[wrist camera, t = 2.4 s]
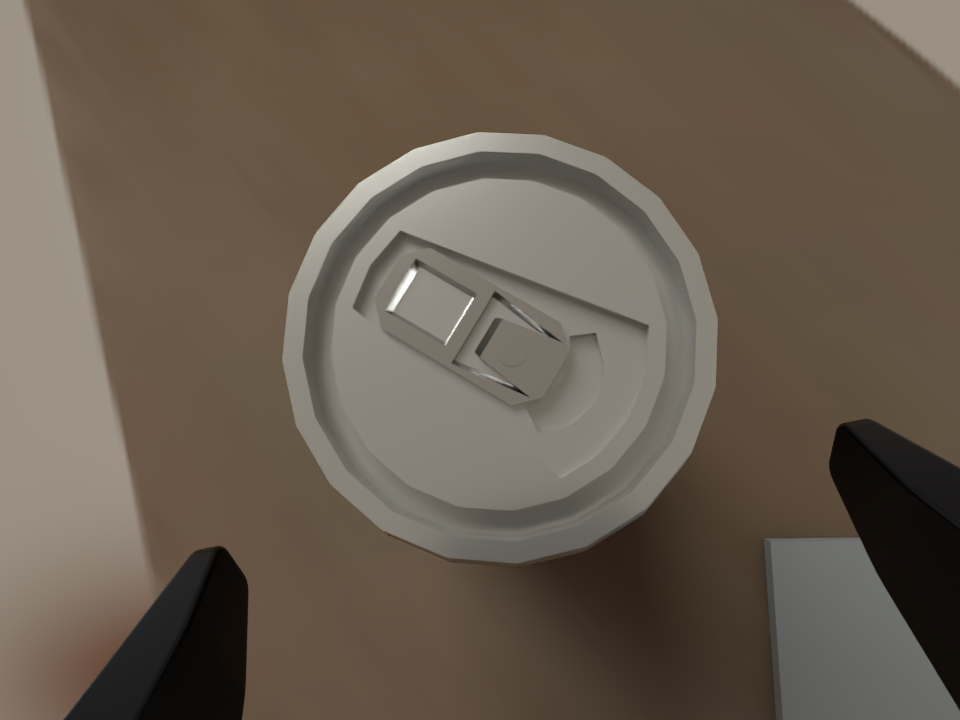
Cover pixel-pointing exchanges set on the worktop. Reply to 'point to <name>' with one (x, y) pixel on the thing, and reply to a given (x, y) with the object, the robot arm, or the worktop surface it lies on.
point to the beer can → (500, 348)
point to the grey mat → (843, 639)
